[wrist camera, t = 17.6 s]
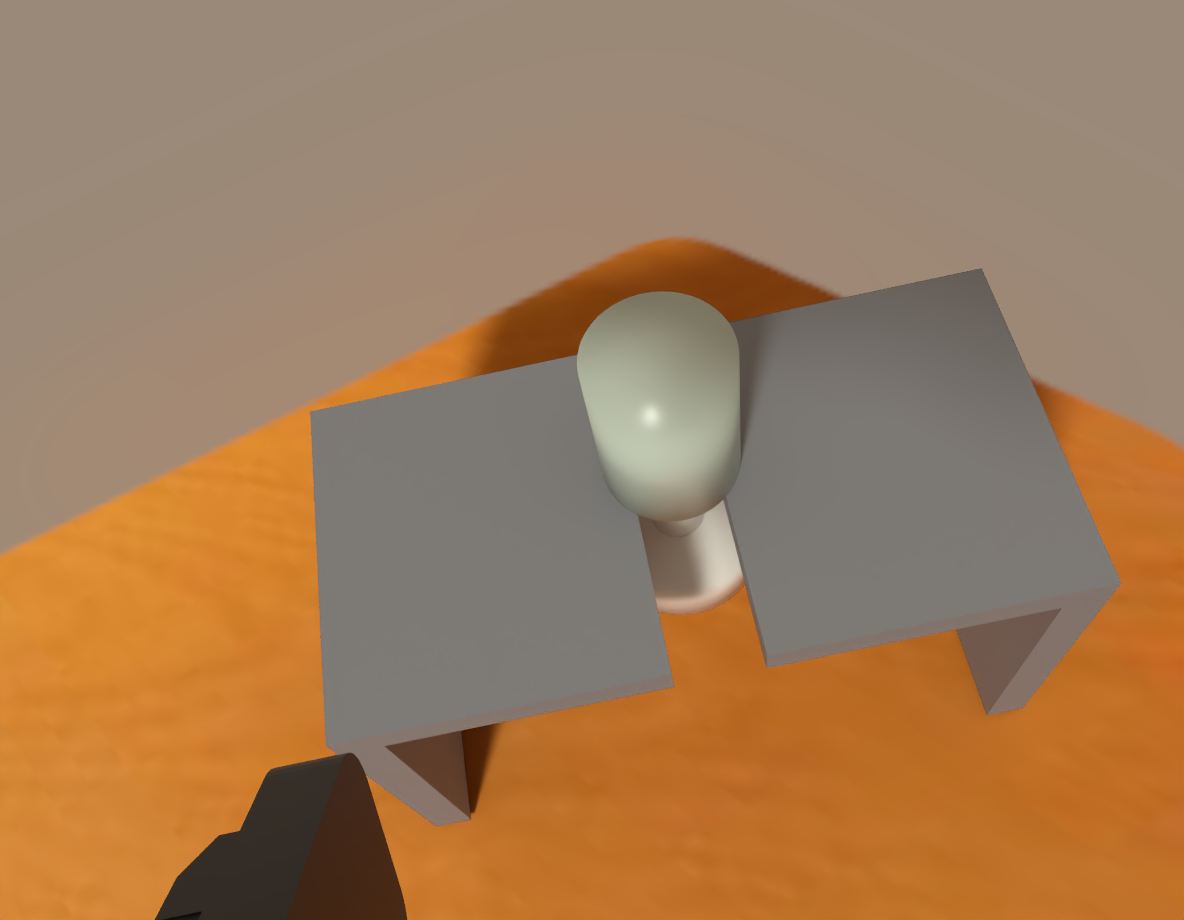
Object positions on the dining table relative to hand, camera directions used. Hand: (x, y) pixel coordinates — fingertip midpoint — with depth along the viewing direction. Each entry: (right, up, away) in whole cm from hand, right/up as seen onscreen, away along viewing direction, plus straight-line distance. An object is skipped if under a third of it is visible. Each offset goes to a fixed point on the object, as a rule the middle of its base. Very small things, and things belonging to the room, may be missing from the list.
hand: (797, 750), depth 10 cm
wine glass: (+1, 0, +24) cm, 25 cm away
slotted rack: (+2, -3, +29) cm, 30 cm away
